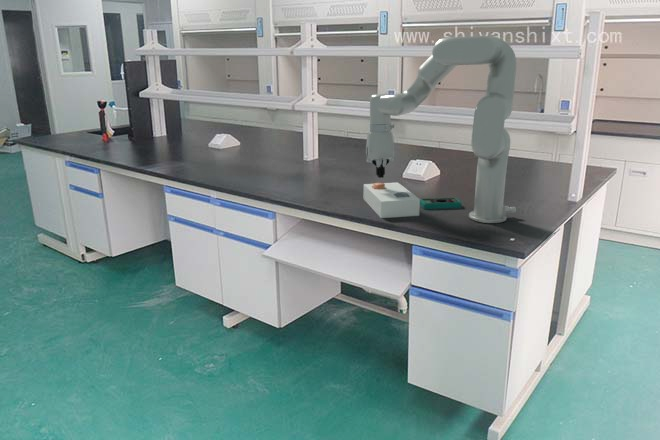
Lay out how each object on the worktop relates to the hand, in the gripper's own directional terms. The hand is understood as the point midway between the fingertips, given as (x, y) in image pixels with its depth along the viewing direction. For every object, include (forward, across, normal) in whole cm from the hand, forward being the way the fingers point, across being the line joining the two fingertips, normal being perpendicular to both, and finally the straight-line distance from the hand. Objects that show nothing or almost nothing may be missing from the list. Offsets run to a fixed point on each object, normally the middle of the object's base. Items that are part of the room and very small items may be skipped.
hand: (380, 176), depth 200 cm
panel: (+10, -2, +6) cm, 12 cm away
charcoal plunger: (+9, -4, +13) cm, 16 cm away
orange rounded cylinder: (+8, +1, 0) cm, 8 cm away
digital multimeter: (+11, -21, +9) cm, 25 cm away
